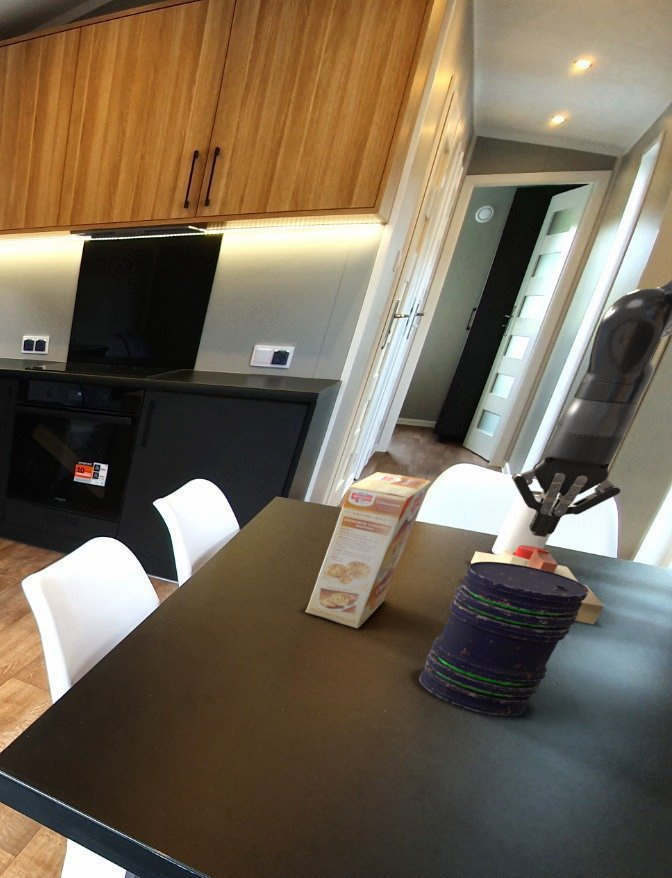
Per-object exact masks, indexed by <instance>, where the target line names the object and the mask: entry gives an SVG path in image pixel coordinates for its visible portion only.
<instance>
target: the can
mask: <svg viewBox="0 0 672 878" xmlns="http://www.w3.org/2000/svg"><path fill="white" fill-rule="evenodd" d="M531 492H532V494H533V495H534V497H535V499H536V500H537V501H539V502H540V500H541V495H542V492H543V491H540V490H539V491H538V490H531ZM558 496H559V494H558ZM558 496H557V498H556V500H555V501H554V504H555V502H556V501H557V499H558ZM554 504H553V505H554ZM552 507H553V506H552ZM535 513H536V510H534V509H532V508H529V507H528V506H527V505H526V504H525V502H524V500H523V498H522V496H521V494H519V496H517V497H516V498H515V499H514V501H513V503H512V505H511V507H510V509H509V512H508V513H507V515H506V518H505V520H504V522H503V525H502V527H501V529H500V531H499V533H498V535H497V537H496V540H495V542H494V544H493V546H492V549H491V551H492V554H494V555H500V556H501V554H502V552H503V551H505V550H517V548H518V546H521V545H525V546H533V547H538V548H541V549H545V546H546V545H547V542H548V540H549V538H550V536H551V534H547V536H546V537H542V536H535V535H533V534H532V531H530V529H529V526H530V524H531V522H532V520H533V518H534V515H535Z"/></svg>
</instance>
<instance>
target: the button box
mask: <svg viewBox="0 0 672 878" xmlns="http://www.w3.org/2000/svg"><path fill="white" fill-rule="evenodd" d="M515 552H516V550H505V551H503V552H502V554H501V556H500V555H495V554H494V553H487V552H482V551H475V552H474V555H473V557H472V559H471V561H470V564H472V563H475V562H501V563H510V564H516V565H522V566H527V564H528V562H529V559H525V558H521V557H518V556H515ZM555 562H556V563H557V561H556V560H555ZM554 573H556V574H559V575H562V576H565V577H568V578H570V579H573V580H575V581H577V582H579V581H578V579H577V578H576V577H575V575H574V574H573V572H572V571H571V570H570V568H569V567H568V566H565V565H560V564H558V565H557V567H556V569H555V571H554Z"/></svg>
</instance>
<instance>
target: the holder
mask: <svg viewBox="0 0 672 878" xmlns="http://www.w3.org/2000/svg"><path fill="white" fill-rule="evenodd" d="M555 561H556V559H554V558H553V556H552V555H551V554H550V551H549V550H547V549H544V550H542V549H536V550H534V552H533V554H532V556H531V558H530V560H529V562H528V564H527V567H532V568H537V569H541V570H545V571H549V572H552V573H554V571H555V569H556V567H557V565H559V564H558V563H557V561H556V562H555Z"/></svg>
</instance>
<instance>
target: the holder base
mask: <svg viewBox="0 0 672 878" xmlns="http://www.w3.org/2000/svg"><path fill="white" fill-rule="evenodd" d="M466 575H467V573H466V574H465V576H466ZM582 584H583V583H582ZM583 585H584V586H586V587H587V588H588V589H589V592H588V594H587V596H586V598H585V599H584V600H582V601H581V602H582V605H581V607H580V609H579V611H578V616H577V618H576V619H575V621H574V622H579V623H583V624H589V625H595V623H596V622H597V619H598V618H599V616H600V614H601V612H602V611H603V609H604V604H602V602H601V601H600V600H599V599H598V597H597V596H596V595H595V593H594V592H593V591H592V590H591V588H590V587H589V586H588V584H583Z"/></svg>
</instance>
